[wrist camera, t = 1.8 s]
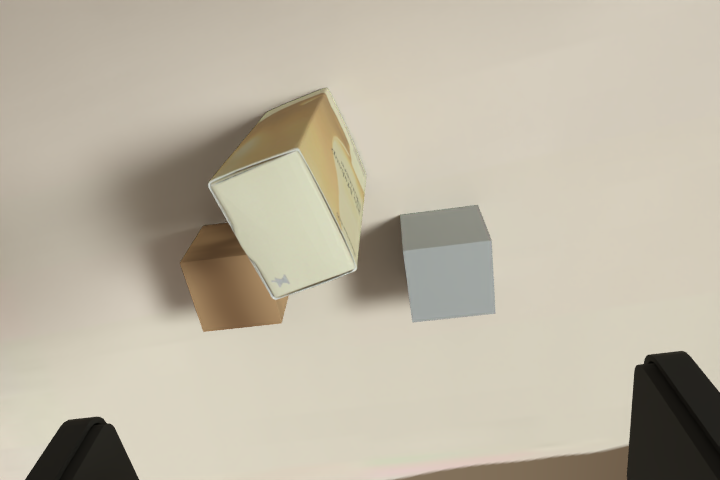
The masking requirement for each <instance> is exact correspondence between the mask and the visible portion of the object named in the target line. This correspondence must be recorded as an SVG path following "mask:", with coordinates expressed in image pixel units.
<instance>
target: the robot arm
mask: <svg viewBox="0 0 720 480" xmlns="http://www.w3.org/2000/svg"><path fill="white" fill-rule="evenodd" d="M25 480H139V479H138V476H137V474H136V472H135V470H134V468H133V466H132V464H131V462H130V459H129V457H128V455H127V453H126V451H125V449H124V447H123V445H122V442H121V440H120V438H119V436H118V434H117V432H116V430H115V428H114V426H113V425H111V424H107V423H106V422H105V420H104V419H103V418H101V417H90V418H81V419H72V420H68V421H66V422H64V423H63V424H62V425H61V427H60V428H59V430H58V431H57V433H56V434H55V436H54V437H53V439H52V440H51V442H50V443H49V445H48V446H47V448H46V449H45V451H44V452H43V454H42V455H41V457H40V458H39V460H38V461H37V463H36V464H35V466H34V467H33V469H32V470H31V472H30V473H29V475H28V476H27V478H26V479H25ZM627 480H720V392H719V391H718V390H717V389H716V387H715V386H714V385H713V384H712V383H711V381H710V380H709V379H708V378H707V376H706V375H705V374H704V373H703V371H702V370H701V369H700V368H699V367H698V365H697V364H696V363H695V362H694V360H693V359H692V358H691V357H690V356H689V355H688V354H687V353H686V352H684V351H678V352H669V353H660V354H651V355H647V356H646V358H645V361H644V364H641V365H637V366H636V367H635V371H634V385H633V399H632V412H631V426H630V440H629V454H628V468H627Z"/></svg>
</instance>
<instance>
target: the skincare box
mask: <svg viewBox="0 0 720 480" xmlns="http://www.w3.org/2000/svg"><path fill="white" fill-rule="evenodd" d="M365 186H366V173H365V170H364V168H363V165H362V162H361V160H360V157H359V155H358V152H357V150H356V148H355V145H354V143H353V141H352V138H351V136H350V134H349V131H348V129H347V127H346V125H345V123H344V121H343V119H342V116H341V114H340V112H339V110H338V108H337V106H336V104H335V102H334V100H333V98H332V95H331V93H330V91H329V89H328V88H324V89H321V90H318V91H316V92H313V93H311V94H308V95H306V96H303V97H301V98H298V99H296V100H293V101H291V102H288V103H286V104H284V105H282V106H279V107H277V108H275V109H272V110H270V111H268V112H267V113H266V114H265V115H264V116H263V117H262V118H261V120H260V121H259V122H258V123H257V124H256V126H255V127H254V128H253V129H252V130H251V132H250V133H249V134H248V135H247V137H246V138H245V139H244V140H243V141H242V142H241V144H240V145H239V146H238V147H237V149H236V150H235V151H234V152H233V153H232V154H231V156H230V157H229V158H228V159H227V160H226V162H225V163H224V164H223V165H222V167H221V168H220V169H219V170H218V171H217V172H216V174H215V175H214V176H213V177H212V179H211V180H210V181H209V182H208V188H209V190H210V191H211V193H212V195H213V197H214V198H215V200H216V202H217V204H218V206H219V207H220V209H221V211H222V212H223V214H224V216H225V218H226V219H227V221H228V223H229V225H230V226H231V228H232V230H233V232H234V234H235V236H236V238H237V239H238V241H239V243H240V245H241V247H242V248H243V250H244V251H245V253H246V254H247V256H248V257H249V259H250V261H251V263H252V264H253V266H254V268H255V270H256V271H257V273H258V275H259V276H260V278H261V280H262V282H263V283H264V285H265V287H266V288H267V290H268V292H269V294H270V296H271V297H272V298H273V299H274V300H277V299H280V298H283V297H285V296H288V295H292V294H295V293H297V292H300V291H303V290H306V289H309V288H312V287H315V286H318V285H321V284H324V283H326V282H329V281H332V280H335V279H337V278H340V277H342V276H344V275H346V274H349V273H352V272H354V271H356V270H357V262H358V252H359V242H360V233H361V223H362V214H363V204H364V195H365Z"/></svg>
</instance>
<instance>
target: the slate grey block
mask: <svg viewBox="0 0 720 480" xmlns="http://www.w3.org/2000/svg"><path fill="white" fill-rule="evenodd" d="M400 220H401V233H402V246H403V255H404V263H405V270H406V278H407V285H408V292H409V300H410V307H411V315H412V322H421V321H430V320H439V319H449V318H458V317H467V316H477V315H486V314H495V296H494V277H493V258H492V240H491V238H490V235H489V232H488V230H487V227H486V225H485V222H484V220H483V217H482V214H481V212H480V209H479V207H478V205H474V206H466V207H458V208H450V209H442V210H434V211H426V212H418V213H410V214H402V215H400Z"/></svg>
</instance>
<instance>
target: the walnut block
mask: <svg viewBox="0 0 720 480" xmlns="http://www.w3.org/2000/svg"><path fill="white" fill-rule="evenodd" d="M180 265H181V268H182V271H183V274H184V277H185V280H186V282H187V285H188V288H189V291H190V294H191V297H192V300H193V303H194V306H195V309H196V312H197V315H198V317H199V320H200V323H201V326H202V329H203V332H206V331H215V330H224V329H233V328H243V327H252V326H261V325H270V324H279V323H282V319H283V315H284V311H285V308H286V304H287V300H288V296H289V295H288V296H285V297H283V298H280V299H277V300H274V299H273V298H272V297H271V296H270V294H269V292H268V290H267V288H266V287H265V285H264V283H263V282H262V280H261V278H260V276H259V275H258V273H257V271H256V270H255V268H254V266H253V264H252V263H251V261H250V259H249V257H248V256H247V254H246V253H245V251H244V250H243V248H242V247H241V245H240V243H239V241H238V239H237V238H236V236H235V234H234V232H233V230H232V228H231V226H230V225H229V223H221V224H213V225H206V226H203V227H202V228H201V230H200V232H199V233H198V235H197V236H196V238H195V240H194V241H193V243H192V244H191V246H190V247H189V249H188V251H187V252H186V254H185V255H184V257H183V259H182V260H181V262H180Z"/></svg>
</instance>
